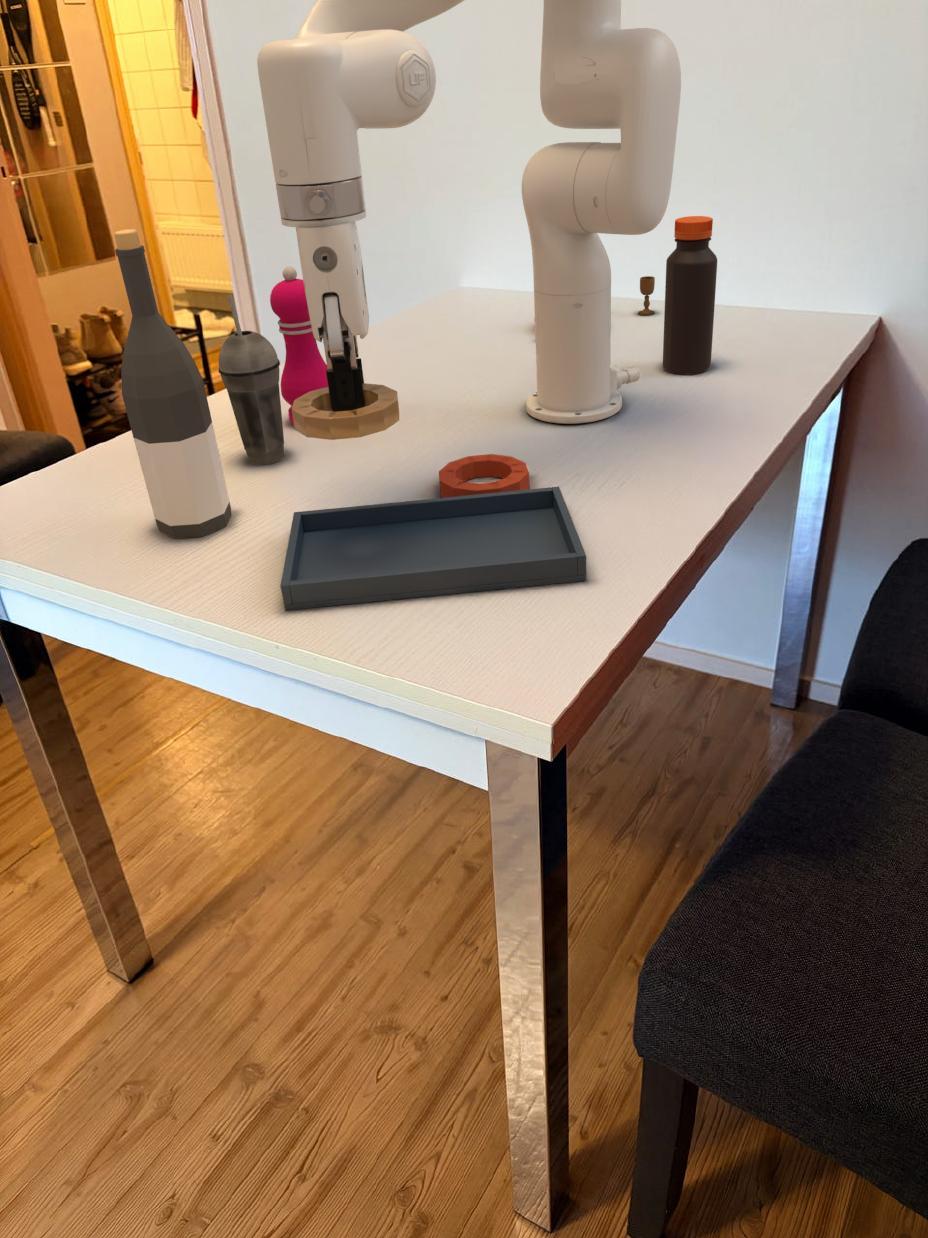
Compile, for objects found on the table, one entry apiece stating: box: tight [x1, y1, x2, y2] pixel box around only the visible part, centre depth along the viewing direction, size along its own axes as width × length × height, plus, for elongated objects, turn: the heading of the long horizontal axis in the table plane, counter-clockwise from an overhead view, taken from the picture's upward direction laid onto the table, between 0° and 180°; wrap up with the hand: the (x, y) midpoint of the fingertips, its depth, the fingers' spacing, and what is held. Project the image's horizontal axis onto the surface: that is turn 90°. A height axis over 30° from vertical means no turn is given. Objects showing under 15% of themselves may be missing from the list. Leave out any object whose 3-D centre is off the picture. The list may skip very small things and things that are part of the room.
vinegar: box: [662, 215, 718, 375], centre depth 132 cm, size 7×7×20 cm
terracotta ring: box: [438, 453, 530, 498], centre depth 106 cm, size 10×10×2 cm
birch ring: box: [292, 382, 400, 441], centre depth 90 cm, size 10×10×2 cm
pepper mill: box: [269, 265, 328, 426], centre depth 125 cm, size 7×7×20 cm
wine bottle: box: [113, 228, 232, 540], centre depth 97 cm, size 8×8×30 cm
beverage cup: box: [218, 294, 286, 466], centre depth 114 cm, size 7×7×20 cm
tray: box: [280, 486, 587, 611], centre depth 93 cm, size 28×16×3 cm, turn 94°
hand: (349, 403), depth 94 cm, fingers closed on birch ring, 2 cm apart
